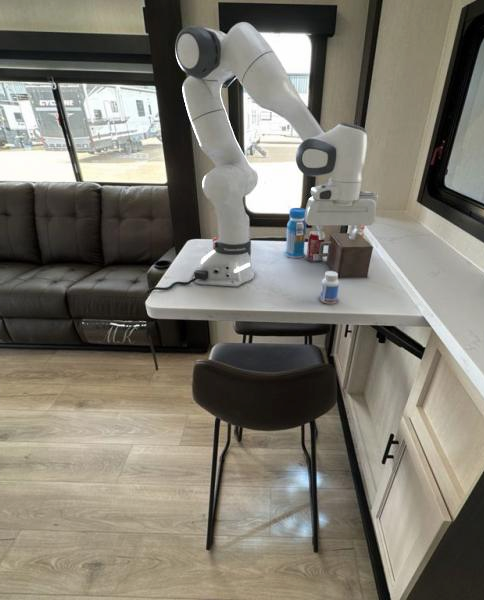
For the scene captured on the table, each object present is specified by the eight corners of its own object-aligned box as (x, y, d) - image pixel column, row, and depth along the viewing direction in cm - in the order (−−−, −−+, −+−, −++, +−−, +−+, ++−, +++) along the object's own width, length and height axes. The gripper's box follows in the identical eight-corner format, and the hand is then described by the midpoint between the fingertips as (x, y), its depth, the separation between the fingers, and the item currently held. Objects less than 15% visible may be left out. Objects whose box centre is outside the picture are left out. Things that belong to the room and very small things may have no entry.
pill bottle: (339, 300, 102) (343, 274, 97) (329, 306, 98) (333, 279, 94) (326, 294, 105) (329, 268, 100) (316, 299, 102) (319, 273, 97)
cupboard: (339, 278, 116) (344, 246, 110) (328, 261, 130) (332, 233, 124) (366, 277, 118) (373, 246, 111) (353, 261, 131) (358, 233, 125)
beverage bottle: (282, 256, 134) (284, 210, 123) (288, 250, 140) (291, 206, 130) (300, 259, 131) (304, 213, 121) (306, 253, 138) (310, 208, 128)
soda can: (323, 262, 129) (326, 235, 123) (307, 262, 129) (309, 234, 123) (321, 256, 135) (324, 230, 129) (305, 256, 135) (308, 229, 128)
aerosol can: (356, 256, 136) (364, 211, 126) (342, 253, 139) (349, 209, 129) (361, 252, 141) (369, 208, 131) (347, 249, 144) (354, 206, 134)
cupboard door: (326, 278, 116) (330, 247, 110) (317, 261, 129) (320, 233, 123) (338, 277, 116) (343, 247, 110) (328, 261, 130) (331, 233, 124)
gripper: (375, 189, 88) (366, 235, 95) (305, 188, 86) (301, 235, 93) (384, 194, 82) (374, 242, 89) (310, 193, 81) (305, 243, 88)
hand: (336, 239), depth 91 cm, fingers open, 8 cm apart
